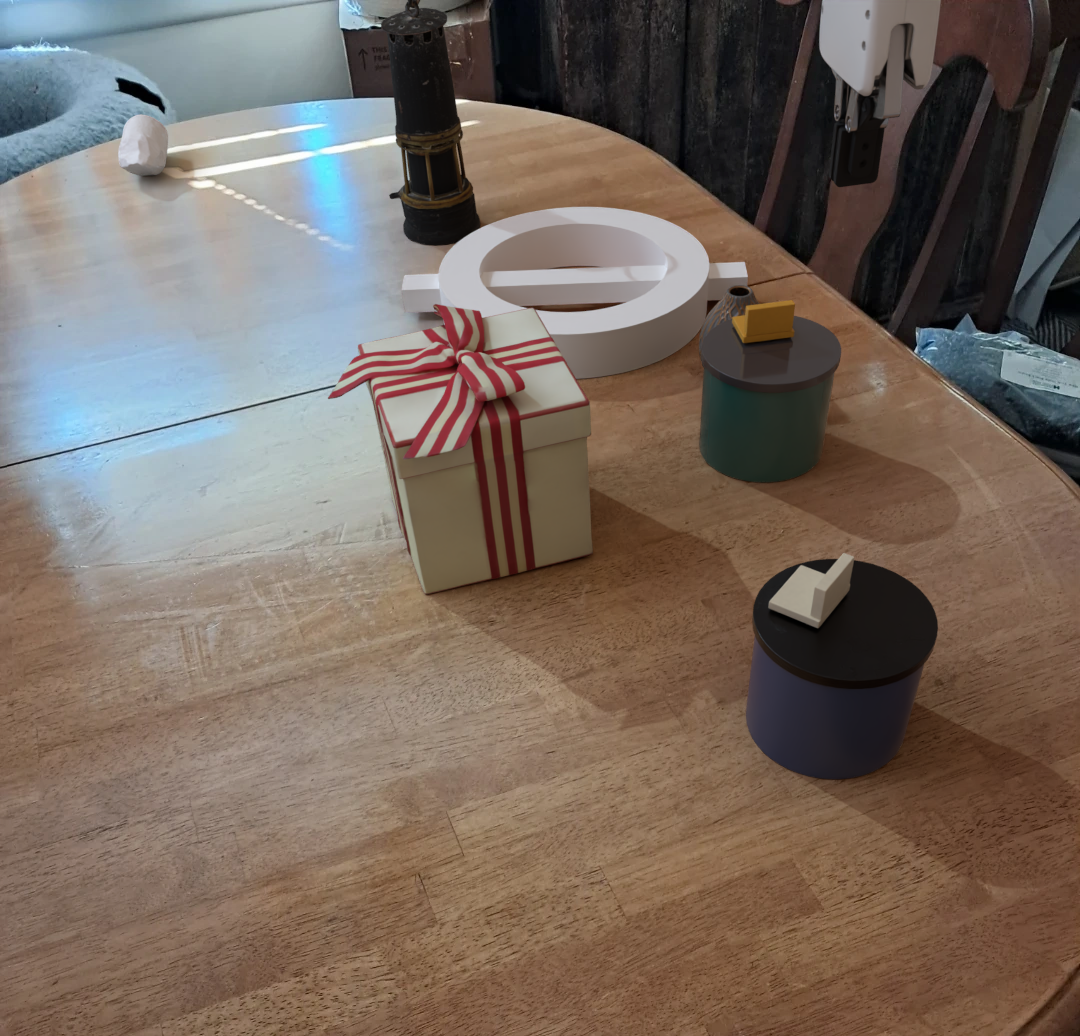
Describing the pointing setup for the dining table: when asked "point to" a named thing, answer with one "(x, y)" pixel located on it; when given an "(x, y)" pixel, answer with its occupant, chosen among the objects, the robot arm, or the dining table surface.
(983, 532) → the dining table surface
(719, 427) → the green lidded canister
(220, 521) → the dining table surface
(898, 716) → the blue lidded jar
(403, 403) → the gift box
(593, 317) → the ring with crossbar
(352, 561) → the dining table surface
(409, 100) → the lantern
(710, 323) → the vase
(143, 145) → the white rock
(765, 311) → the slider
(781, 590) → the slider
